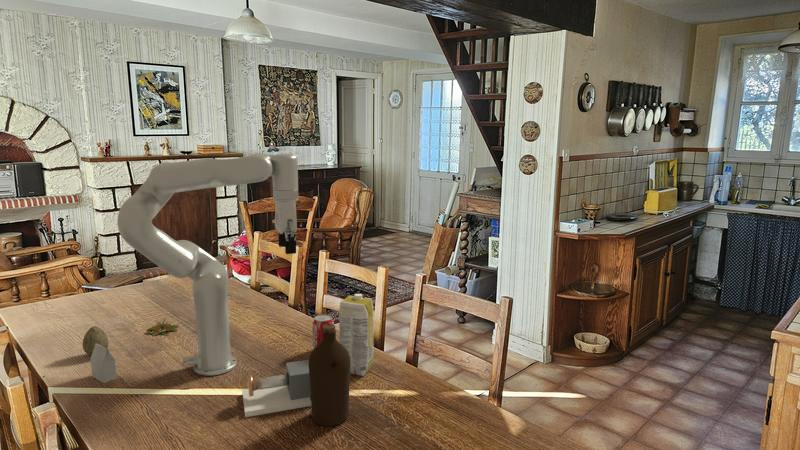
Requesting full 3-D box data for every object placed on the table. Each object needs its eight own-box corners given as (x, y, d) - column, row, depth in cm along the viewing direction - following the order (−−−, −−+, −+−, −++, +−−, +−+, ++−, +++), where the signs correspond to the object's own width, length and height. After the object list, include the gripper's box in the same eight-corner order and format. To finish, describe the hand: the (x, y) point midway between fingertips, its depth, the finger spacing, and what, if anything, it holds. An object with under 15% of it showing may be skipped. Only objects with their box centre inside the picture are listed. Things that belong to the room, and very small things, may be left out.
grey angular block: (104, 383, 150) (100, 351, 148) (92, 376, 154) (88, 345, 152) (116, 378, 153) (113, 346, 151) (105, 372, 157) (101, 341, 155)
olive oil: (359, 415, 135) (359, 325, 131) (329, 433, 128) (327, 338, 123) (331, 401, 142) (330, 315, 137) (301, 417, 134) (298, 326, 129)
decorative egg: (114, 353, 169) (111, 324, 167) (93, 362, 163) (90, 332, 161) (99, 349, 172) (96, 320, 170) (79, 357, 166) (75, 328, 164)
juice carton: (375, 366, 162) (375, 293, 158) (365, 378, 155) (365, 302, 150) (348, 362, 165) (347, 290, 160) (337, 373, 158) (336, 298, 153)
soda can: (330, 357, 168) (329, 322, 166) (309, 355, 170) (308, 320, 167) (337, 348, 175) (336, 314, 173) (317, 346, 177) (316, 312, 174)
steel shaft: (249, 400, 137) (248, 381, 136) (248, 390, 142) (247, 371, 141) (304, 391, 142) (304, 372, 141) (301, 381, 147) (301, 363, 146)
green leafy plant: (186, 325, 194) (185, 314, 193) (169, 339, 182) (168, 326, 181) (155, 324, 195) (154, 312, 194) (136, 337, 183) (135, 325, 182)
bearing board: (245, 417, 134) (243, 386, 132) (242, 394, 145) (241, 366, 143) (347, 399, 143) (346, 370, 141) (337, 379, 154) (336, 352, 152)
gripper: (267, 192, 164) (269, 244, 167) (279, 199, 148) (280, 257, 152) (291, 191, 167) (293, 242, 170) (305, 198, 151) (306, 255, 155)
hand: (287, 249), depth 161 cm, fingers open, 9 cm apart
